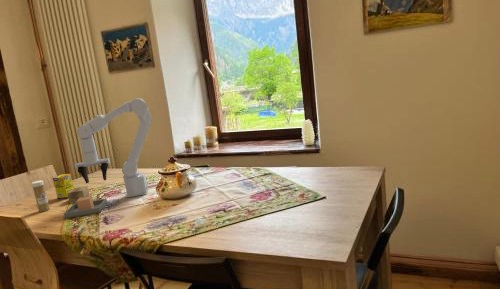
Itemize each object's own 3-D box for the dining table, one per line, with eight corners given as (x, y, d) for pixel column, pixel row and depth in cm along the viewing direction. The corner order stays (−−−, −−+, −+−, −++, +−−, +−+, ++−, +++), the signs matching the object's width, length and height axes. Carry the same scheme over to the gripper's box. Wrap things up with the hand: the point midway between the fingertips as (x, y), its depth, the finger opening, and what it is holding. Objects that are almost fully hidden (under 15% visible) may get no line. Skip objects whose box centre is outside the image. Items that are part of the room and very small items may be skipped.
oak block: (89, 196, 186) (87, 186, 185) (85, 200, 179) (82, 190, 178) (74, 198, 185) (72, 188, 184) (69, 203, 178) (67, 193, 177)
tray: (107, 203, 169) (106, 198, 169) (100, 212, 157) (99, 207, 157) (74, 208, 168) (73, 204, 167) (64, 218, 156) (63, 213, 156)
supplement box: (68, 198, 186) (62, 177, 184) (57, 199, 187) (52, 178, 185) (75, 194, 191) (70, 173, 189) (65, 195, 193) (60, 174, 191)
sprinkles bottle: (44, 212, 169) (36, 182, 167) (36, 212, 171) (28, 183, 168) (52, 208, 174) (45, 179, 171) (44, 208, 175) (37, 180, 173)
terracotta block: (94, 206, 166) (91, 195, 165) (92, 210, 161) (89, 198, 160) (81, 208, 165) (79, 197, 164) (79, 212, 160) (76, 201, 159)
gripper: (108, 147, 174) (114, 176, 176) (75, 152, 172) (82, 181, 175) (104, 150, 167) (111, 180, 169) (70, 155, 166) (77, 185, 168)
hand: (96, 181), depth 172 cm, fingers open, 7 cm apart
